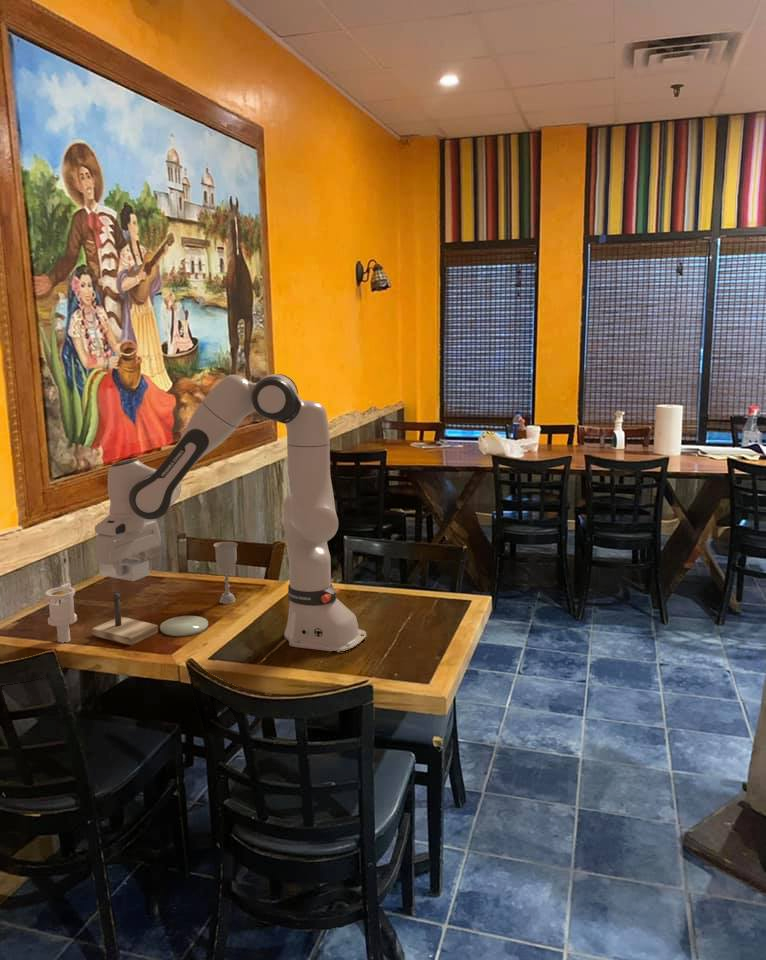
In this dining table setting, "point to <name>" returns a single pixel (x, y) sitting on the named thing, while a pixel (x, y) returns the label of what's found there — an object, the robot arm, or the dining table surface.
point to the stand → (124, 627)
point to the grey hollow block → (127, 569)
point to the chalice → (226, 565)
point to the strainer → (62, 611)
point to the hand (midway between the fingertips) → (131, 571)
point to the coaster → (183, 626)
